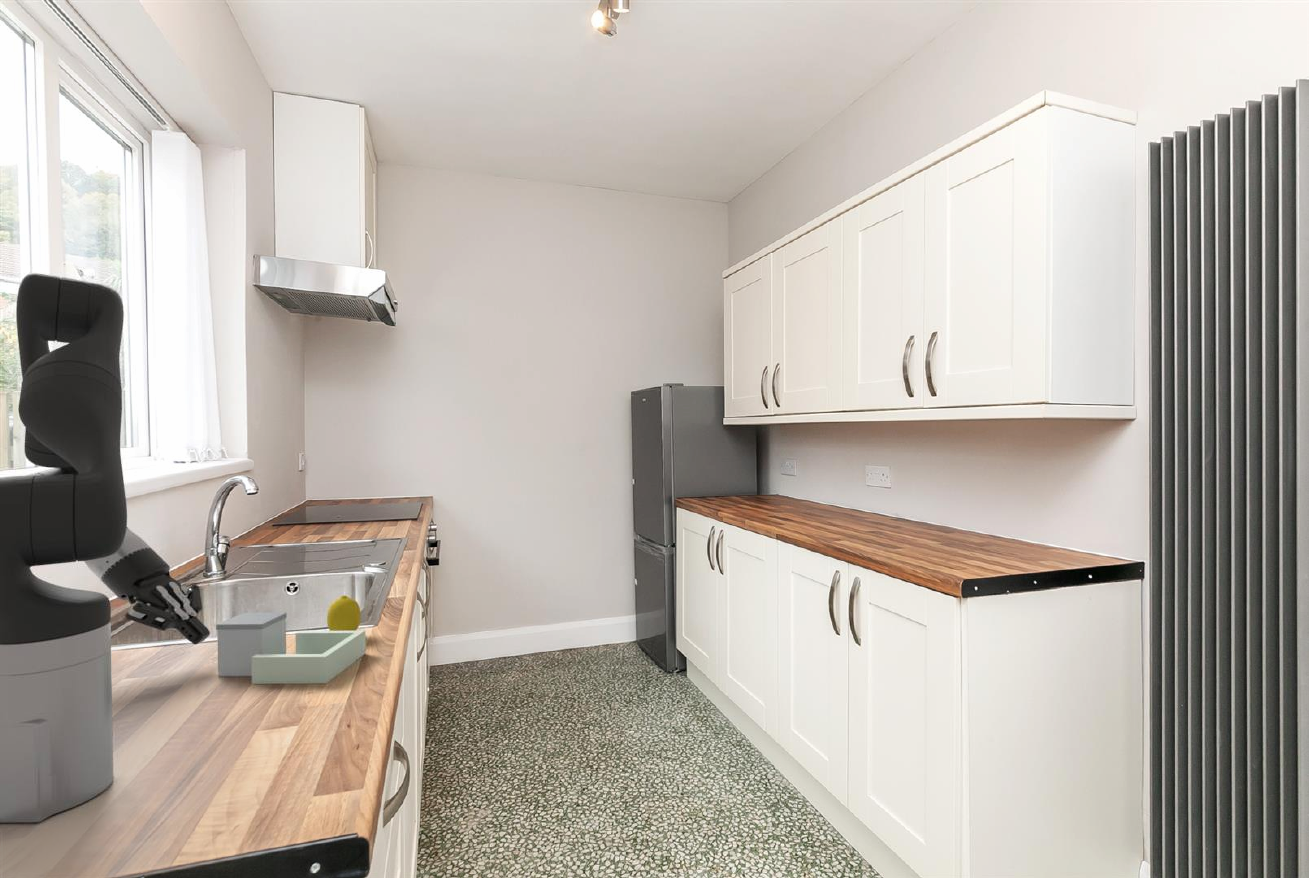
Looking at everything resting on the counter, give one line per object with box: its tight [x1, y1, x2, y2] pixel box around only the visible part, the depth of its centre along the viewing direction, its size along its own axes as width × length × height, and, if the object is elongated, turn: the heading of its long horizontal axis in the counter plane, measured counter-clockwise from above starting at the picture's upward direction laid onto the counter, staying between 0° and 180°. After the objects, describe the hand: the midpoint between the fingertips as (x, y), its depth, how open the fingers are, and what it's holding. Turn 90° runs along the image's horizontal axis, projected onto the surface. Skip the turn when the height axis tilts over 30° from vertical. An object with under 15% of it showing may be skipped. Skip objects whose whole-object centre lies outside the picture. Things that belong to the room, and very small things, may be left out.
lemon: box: [326, 595, 362, 631], centre depth 113 cm, size 6×6×8 cm
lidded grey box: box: [215, 612, 287, 677], centre depth 99 cm, size 6×7×8 cm
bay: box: [251, 630, 366, 685], centre depth 99 cm, size 12×11×4 cm
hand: (203, 639), depth 99 cm, fingers closed
